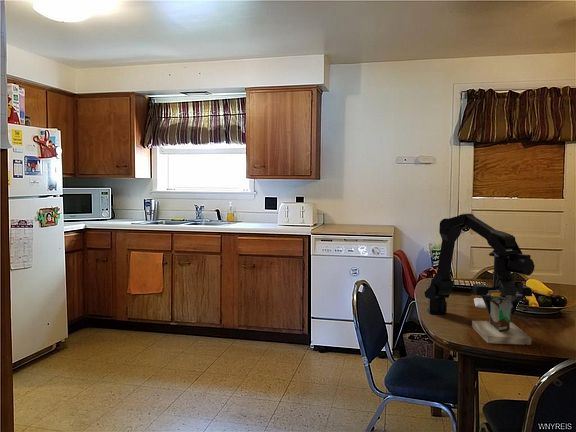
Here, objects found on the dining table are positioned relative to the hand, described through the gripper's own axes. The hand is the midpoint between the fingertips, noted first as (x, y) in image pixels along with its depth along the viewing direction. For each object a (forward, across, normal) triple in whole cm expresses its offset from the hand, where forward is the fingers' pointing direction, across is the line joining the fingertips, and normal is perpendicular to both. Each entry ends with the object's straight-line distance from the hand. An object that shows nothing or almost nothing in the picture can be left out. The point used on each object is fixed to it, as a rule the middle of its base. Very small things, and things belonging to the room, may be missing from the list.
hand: (500, 314), depth 167 cm
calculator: (+8, +14, +42) cm, 45 cm away
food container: (+5, +1, +1) cm, 5 cm away
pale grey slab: (+8, 0, 0) cm, 8 cm away
